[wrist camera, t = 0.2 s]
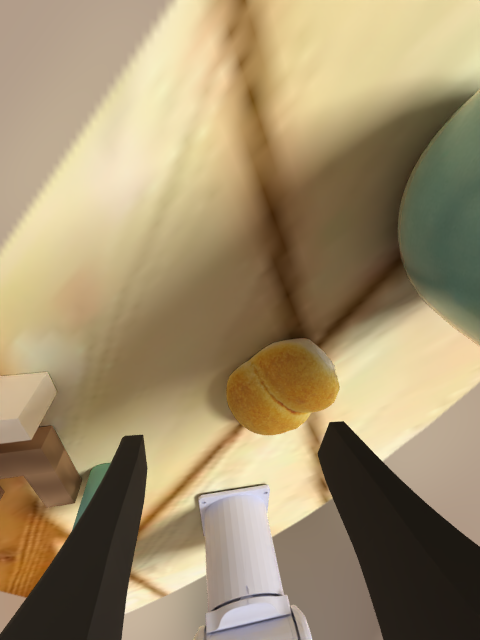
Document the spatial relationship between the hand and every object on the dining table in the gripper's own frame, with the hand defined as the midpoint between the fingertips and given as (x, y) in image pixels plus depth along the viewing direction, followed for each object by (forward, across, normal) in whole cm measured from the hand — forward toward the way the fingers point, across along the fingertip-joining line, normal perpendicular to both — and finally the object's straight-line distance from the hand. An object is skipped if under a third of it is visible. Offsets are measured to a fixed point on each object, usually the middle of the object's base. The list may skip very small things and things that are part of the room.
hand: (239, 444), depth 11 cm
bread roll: (+10, -6, +6) cm, 13 cm away
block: (+10, +17, +15) cm, 24 cm away
